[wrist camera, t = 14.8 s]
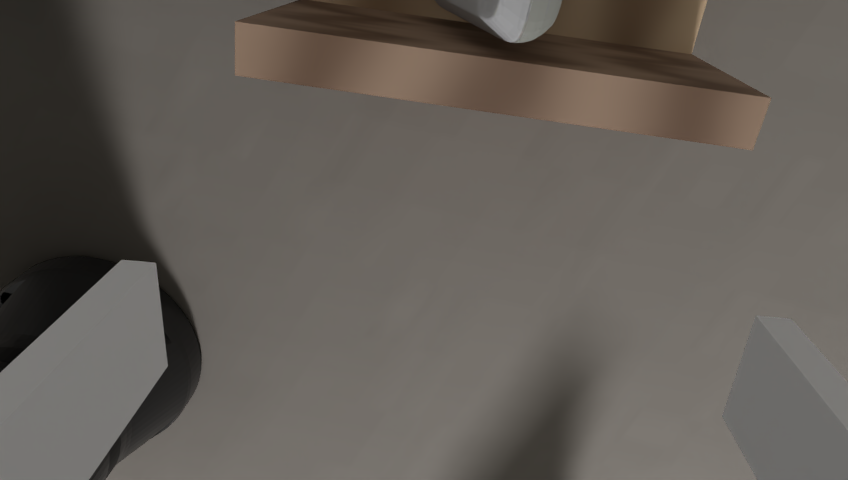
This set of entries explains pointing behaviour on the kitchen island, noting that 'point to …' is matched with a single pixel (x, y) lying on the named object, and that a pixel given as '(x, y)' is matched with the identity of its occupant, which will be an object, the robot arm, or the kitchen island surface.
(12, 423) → the robot arm
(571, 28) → the wooden stand
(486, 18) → the digital clock
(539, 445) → the kitchen island surface
